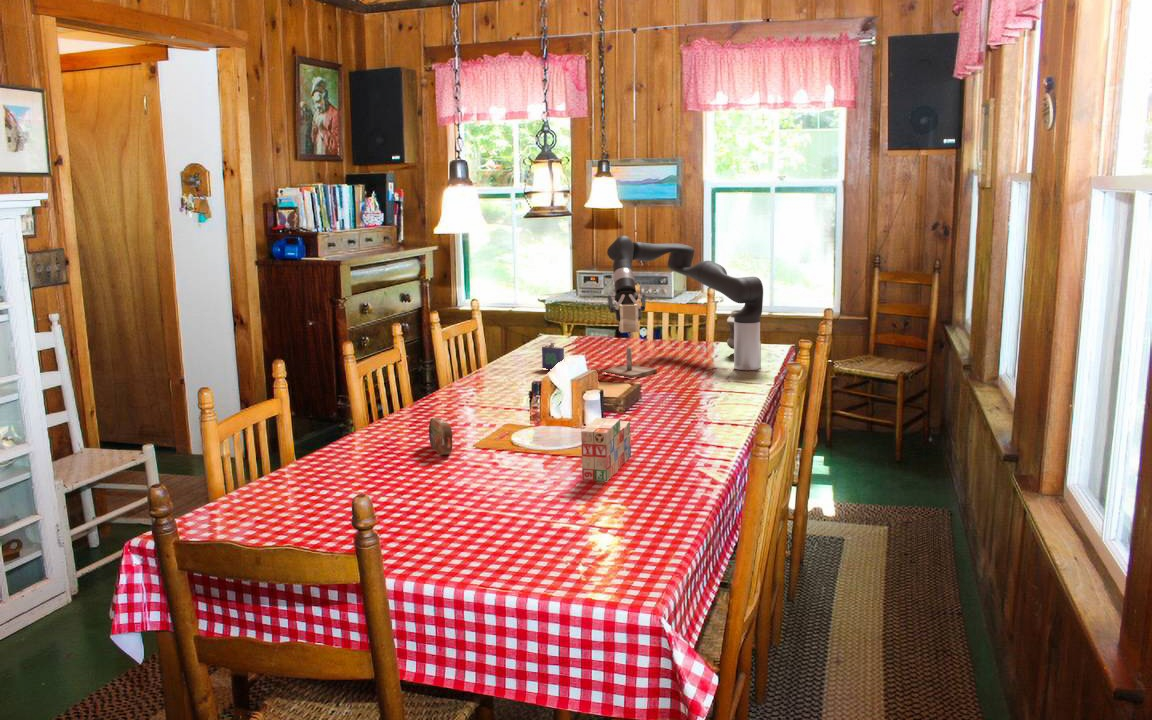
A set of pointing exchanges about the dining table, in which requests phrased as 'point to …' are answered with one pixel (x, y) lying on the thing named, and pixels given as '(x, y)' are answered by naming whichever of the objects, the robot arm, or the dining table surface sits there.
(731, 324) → the apothecary jar
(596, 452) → the stack of blocks
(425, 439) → the dining table surface
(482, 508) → the dining table surface
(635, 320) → the tan upright block
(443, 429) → the tin
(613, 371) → the post base
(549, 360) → the flask
